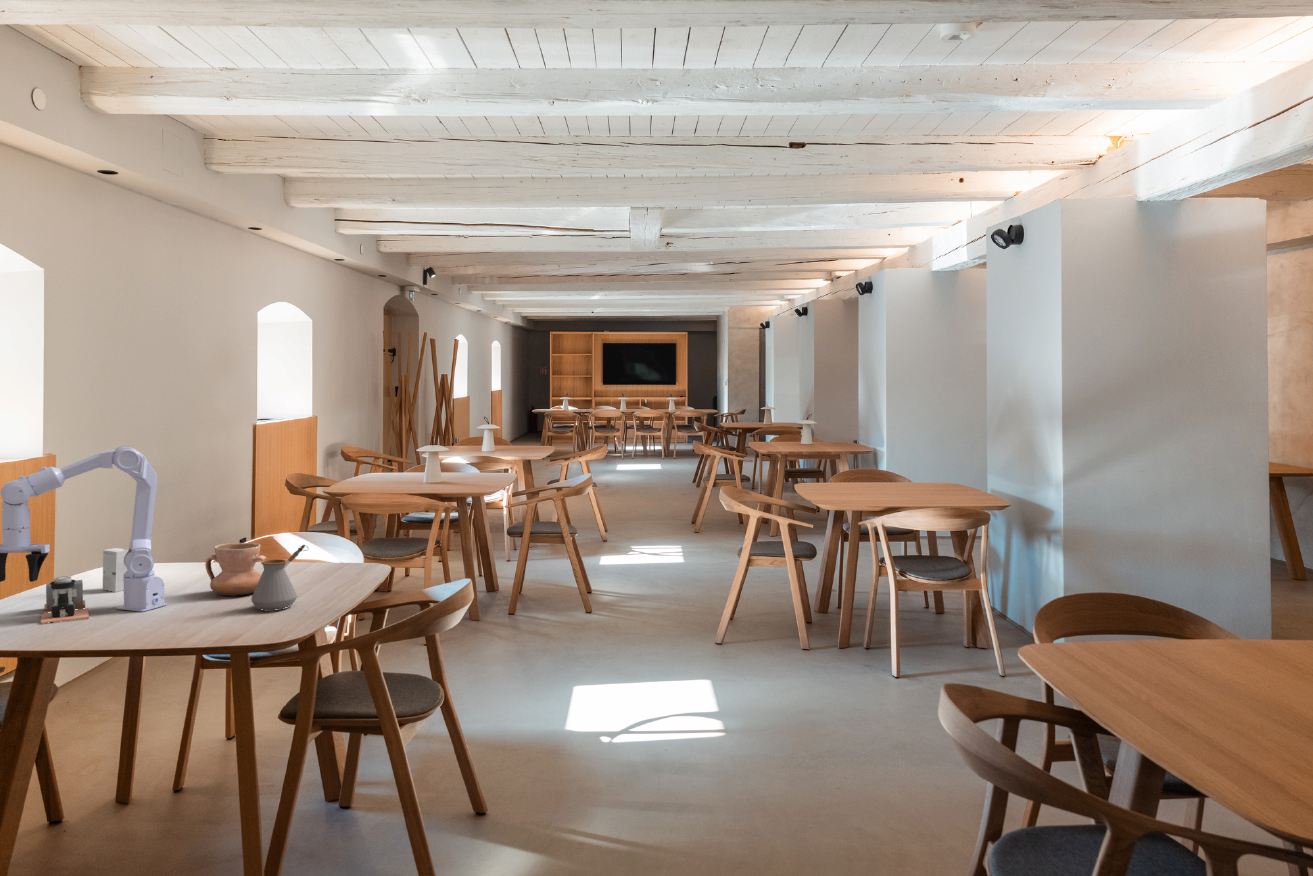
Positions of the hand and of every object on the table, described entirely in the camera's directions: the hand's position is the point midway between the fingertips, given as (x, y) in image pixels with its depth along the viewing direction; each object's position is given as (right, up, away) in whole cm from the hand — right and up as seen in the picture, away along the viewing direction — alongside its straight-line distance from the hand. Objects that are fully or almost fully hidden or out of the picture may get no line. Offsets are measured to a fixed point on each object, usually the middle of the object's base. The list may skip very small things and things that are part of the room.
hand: (17, 581), depth 213 cm
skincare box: (+2, -9, +36) cm, 37 cm away
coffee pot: (+58, -10, +22) cm, 63 cm away
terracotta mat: (+9, -10, +5) cm, 14 cm away
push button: (+8, -10, +4) cm, 13 cm away
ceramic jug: (+39, -10, +34) cm, 52 cm away
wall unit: (+3, -10, +14) cm, 17 cm away
